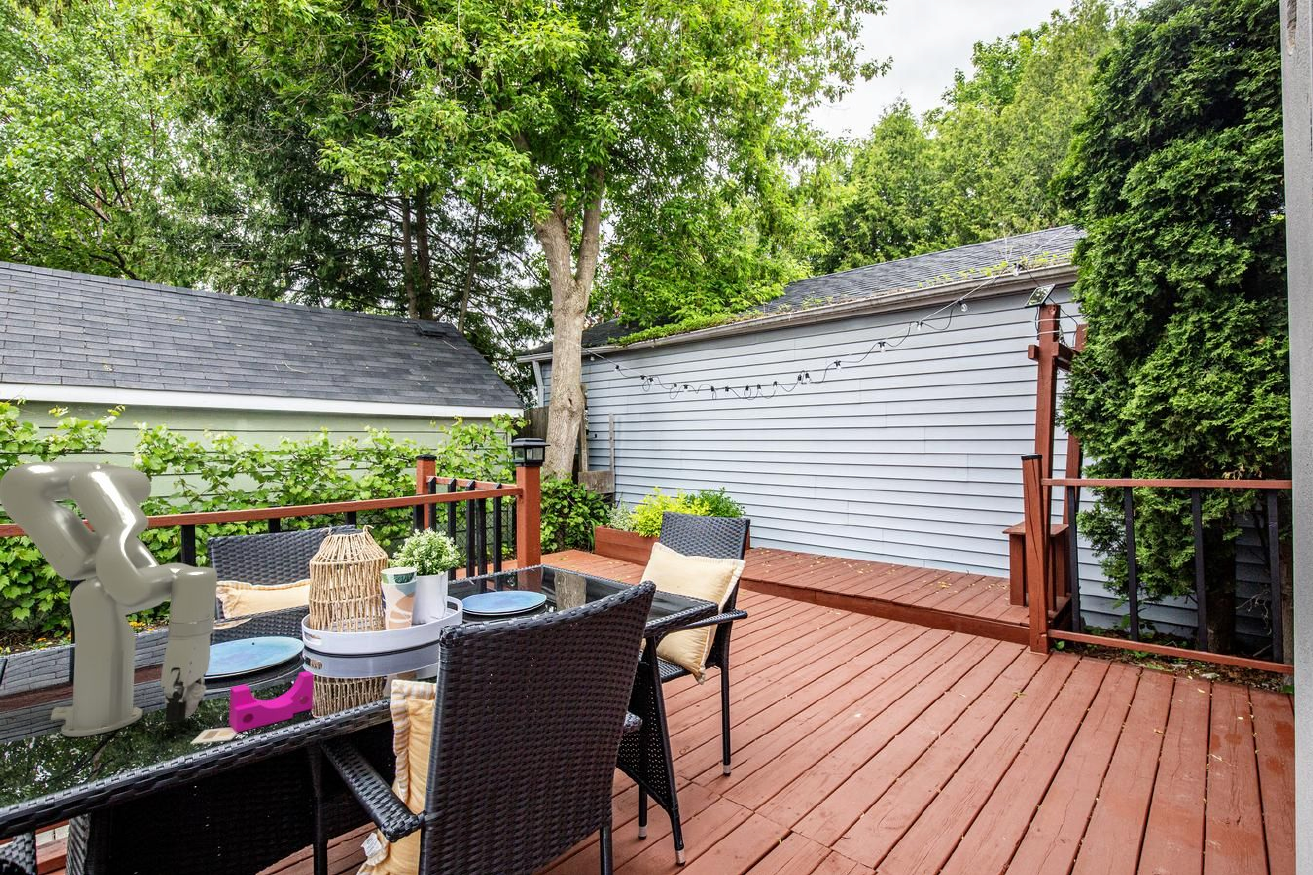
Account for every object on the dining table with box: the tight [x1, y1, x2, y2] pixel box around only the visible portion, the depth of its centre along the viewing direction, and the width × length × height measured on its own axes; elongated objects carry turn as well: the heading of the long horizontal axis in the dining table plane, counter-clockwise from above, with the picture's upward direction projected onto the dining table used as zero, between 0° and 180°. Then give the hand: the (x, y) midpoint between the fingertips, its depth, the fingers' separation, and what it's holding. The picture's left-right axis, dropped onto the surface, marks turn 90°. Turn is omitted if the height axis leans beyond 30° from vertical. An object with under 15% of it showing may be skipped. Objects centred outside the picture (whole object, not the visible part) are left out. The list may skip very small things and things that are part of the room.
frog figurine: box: [164, 682, 207, 719], centre depth 125 cm, size 6×7×7 cm
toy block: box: [228, 670, 315, 734], centre depth 130 cm, size 15×6×8 cm, turn 137°
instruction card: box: [189, 726, 239, 745], centre depth 122 cm, size 7×6×1 cm
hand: (184, 712), depth 125 cm, fingers closed on frog figurine, 6 cm apart
